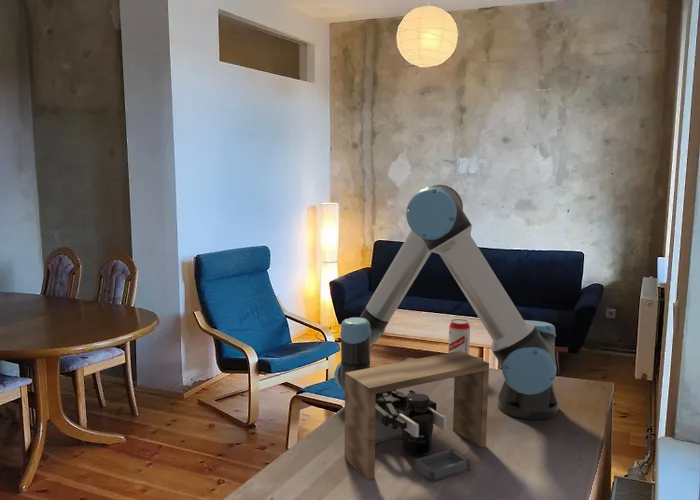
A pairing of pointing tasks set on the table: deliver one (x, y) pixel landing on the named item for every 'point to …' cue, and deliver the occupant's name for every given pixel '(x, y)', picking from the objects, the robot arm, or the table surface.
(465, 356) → the bridge
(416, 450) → the supplement bottle
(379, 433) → the coaster
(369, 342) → the robot arm
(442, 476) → the trap tray
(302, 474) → the table surface
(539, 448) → the table surface
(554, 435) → the table surface
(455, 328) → the beer can
